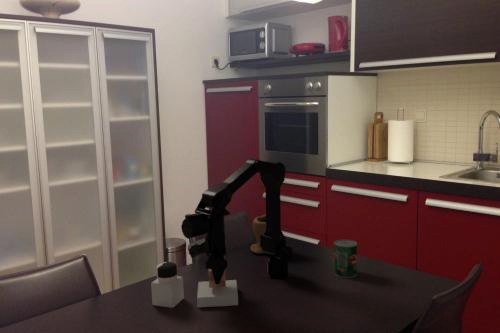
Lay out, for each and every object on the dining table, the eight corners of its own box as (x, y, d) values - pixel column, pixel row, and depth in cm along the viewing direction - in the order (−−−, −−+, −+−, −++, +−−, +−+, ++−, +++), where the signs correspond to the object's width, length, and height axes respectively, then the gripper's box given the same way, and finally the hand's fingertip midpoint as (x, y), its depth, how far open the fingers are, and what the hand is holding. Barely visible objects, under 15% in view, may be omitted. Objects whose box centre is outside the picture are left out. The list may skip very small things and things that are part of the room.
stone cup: (254, 258, 175) (253, 220, 173) (248, 248, 187) (247, 213, 185) (292, 254, 178) (292, 217, 176) (284, 245, 190) (283, 210, 188)
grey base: (236, 288, 147) (236, 279, 147) (238, 305, 135) (237, 295, 135) (199, 290, 146) (198, 281, 146) (197, 307, 134) (197, 297, 134)
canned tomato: (359, 277, 154) (359, 246, 152) (335, 278, 154) (335, 246, 152) (354, 269, 161) (354, 239, 160) (332, 269, 162) (332, 239, 160)
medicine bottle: (184, 298, 141) (182, 261, 139) (173, 308, 134) (171, 269, 132) (163, 295, 143) (161, 259, 141) (151, 305, 136) (149, 267, 135)
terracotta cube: (225, 280, 143) (224, 265, 142) (225, 286, 138) (225, 270, 137) (209, 281, 142) (208, 265, 142) (209, 287, 137) (208, 271, 137)
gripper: (190, 224, 146) (192, 270, 149) (186, 241, 128) (189, 294, 130) (225, 222, 147) (226, 269, 149) (226, 240, 129) (228, 292, 131)
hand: (217, 280), depth 140 cm, fingers closed on terracotta cube, 5 cm apart
